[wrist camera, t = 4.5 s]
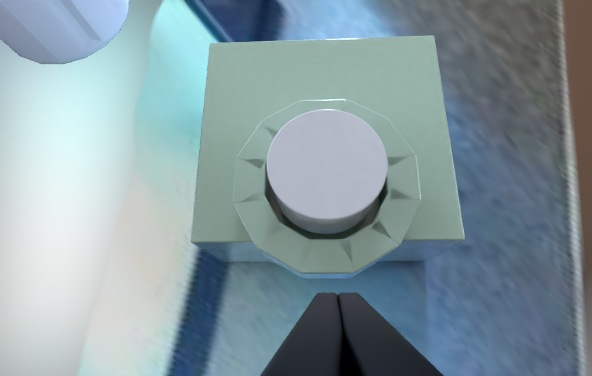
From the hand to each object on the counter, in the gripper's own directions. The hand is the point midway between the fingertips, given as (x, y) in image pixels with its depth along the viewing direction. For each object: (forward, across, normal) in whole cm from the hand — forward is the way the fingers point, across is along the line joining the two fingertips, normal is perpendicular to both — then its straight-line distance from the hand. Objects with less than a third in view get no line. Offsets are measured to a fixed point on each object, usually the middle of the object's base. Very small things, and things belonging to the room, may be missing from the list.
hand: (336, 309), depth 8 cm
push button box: (+14, 0, -3) cm, 15 cm away
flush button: (+7, 0, 0) cm, 7 cm away
